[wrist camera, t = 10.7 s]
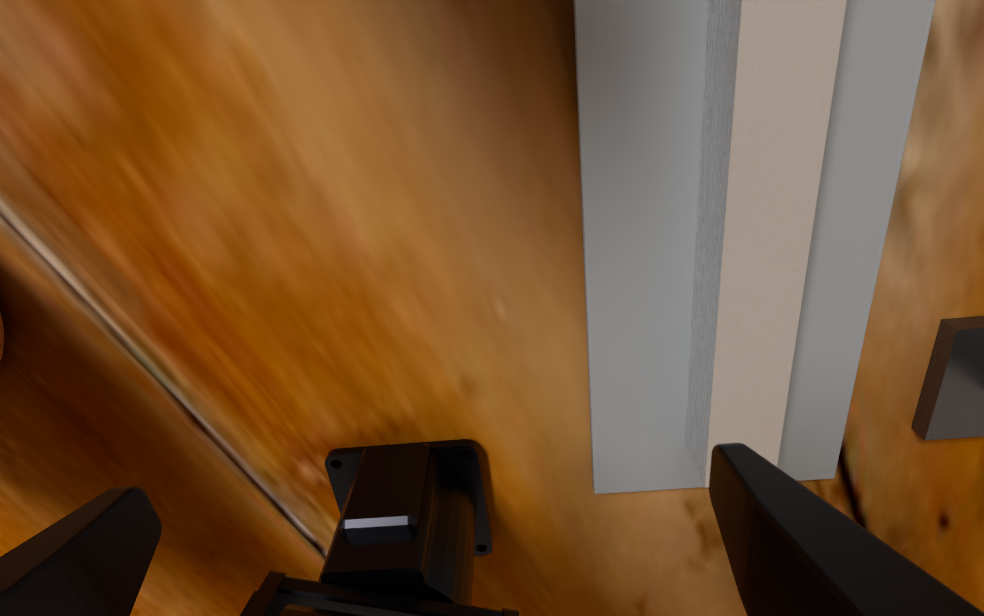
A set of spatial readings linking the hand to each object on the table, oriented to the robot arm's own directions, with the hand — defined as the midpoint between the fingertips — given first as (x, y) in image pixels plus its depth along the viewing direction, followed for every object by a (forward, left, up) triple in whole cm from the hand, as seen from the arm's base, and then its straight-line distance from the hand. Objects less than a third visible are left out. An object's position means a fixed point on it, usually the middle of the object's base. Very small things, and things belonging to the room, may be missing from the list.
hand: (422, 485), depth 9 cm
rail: (+2, -9, -12) cm, 15 cm away
